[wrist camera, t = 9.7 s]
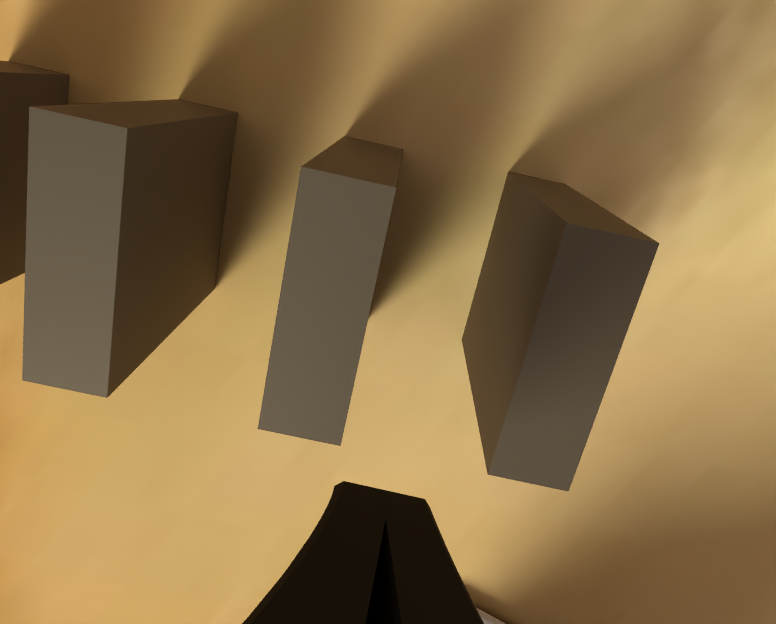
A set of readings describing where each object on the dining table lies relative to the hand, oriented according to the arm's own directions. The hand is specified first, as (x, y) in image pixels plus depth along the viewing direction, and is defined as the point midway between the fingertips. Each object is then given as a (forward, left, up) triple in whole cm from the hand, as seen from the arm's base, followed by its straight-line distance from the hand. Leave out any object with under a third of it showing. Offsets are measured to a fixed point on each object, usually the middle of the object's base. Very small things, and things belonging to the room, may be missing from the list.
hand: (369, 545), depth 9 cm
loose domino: (-2, -3, -10) cm, 11 cm away
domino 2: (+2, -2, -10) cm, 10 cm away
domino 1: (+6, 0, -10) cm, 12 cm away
